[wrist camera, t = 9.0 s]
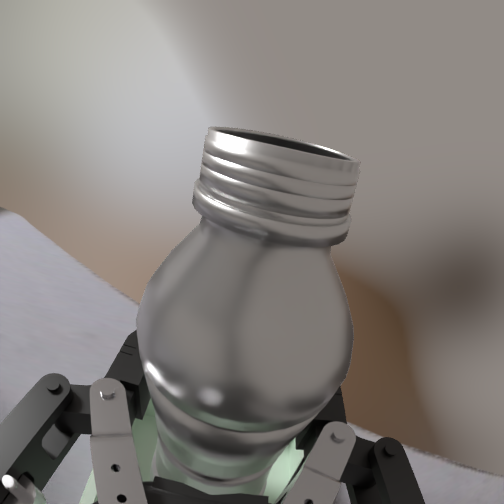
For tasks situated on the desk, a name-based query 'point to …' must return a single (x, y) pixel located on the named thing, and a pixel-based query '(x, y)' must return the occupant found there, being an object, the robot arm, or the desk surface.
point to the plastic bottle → (248, 311)
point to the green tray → (146, 447)
